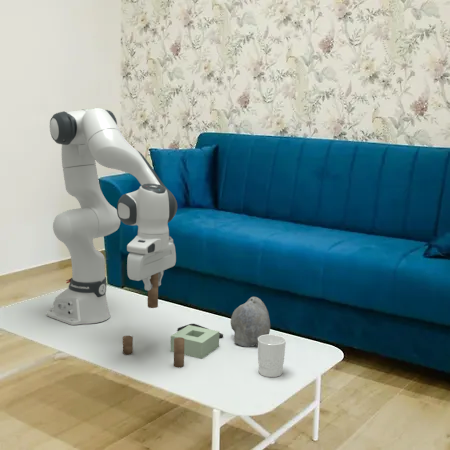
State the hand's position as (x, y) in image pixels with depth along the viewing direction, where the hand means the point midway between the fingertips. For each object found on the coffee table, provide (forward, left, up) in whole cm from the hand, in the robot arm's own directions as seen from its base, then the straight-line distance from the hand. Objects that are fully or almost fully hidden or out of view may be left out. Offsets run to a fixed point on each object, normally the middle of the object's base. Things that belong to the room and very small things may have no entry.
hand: (152, 287), depth 181 cm
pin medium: (+9, 0, -22) cm, 24 cm away
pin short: (-9, 0, -22) cm, 24 cm away
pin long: (0, 0, -6) cm, 6 cm away
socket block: (+7, +13, -22) cm, 26 cm away
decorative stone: (+19, +27, -22) cm, 40 cm away
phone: (+2, +25, -23) cm, 34 cm away
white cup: (+34, +9, -22) cm, 42 cm away
